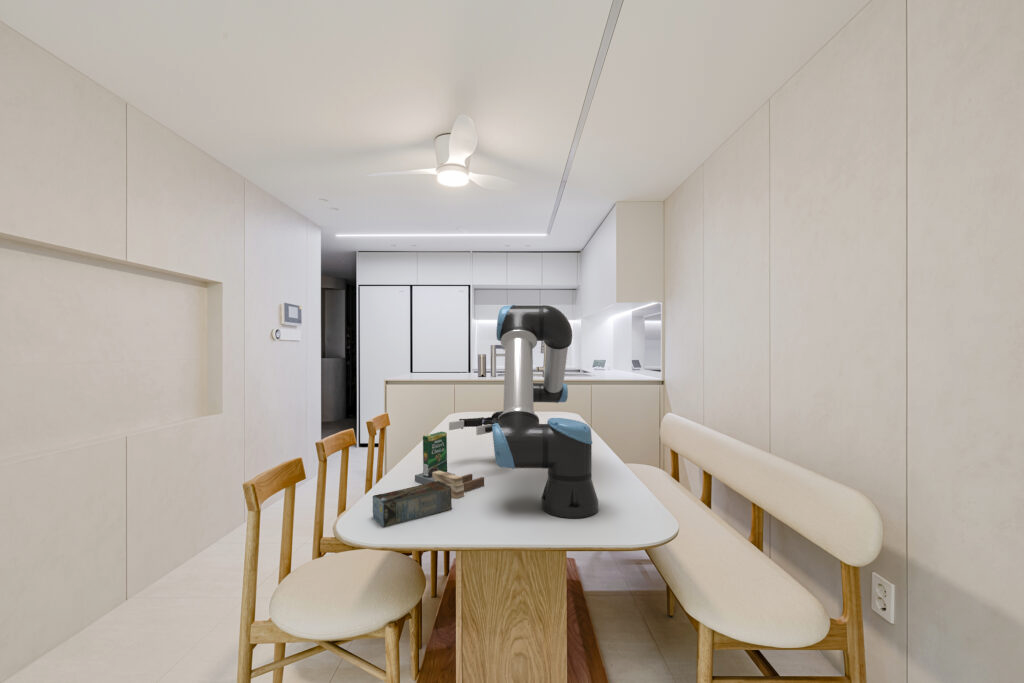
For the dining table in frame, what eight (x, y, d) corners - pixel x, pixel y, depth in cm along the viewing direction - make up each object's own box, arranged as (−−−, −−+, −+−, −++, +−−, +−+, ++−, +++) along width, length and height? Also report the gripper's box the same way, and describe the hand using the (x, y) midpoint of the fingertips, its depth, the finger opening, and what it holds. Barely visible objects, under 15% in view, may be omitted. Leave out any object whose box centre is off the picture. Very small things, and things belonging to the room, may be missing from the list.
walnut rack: (484, 485, 134) (484, 477, 134) (465, 492, 128) (465, 483, 128) (470, 481, 138) (470, 473, 138) (451, 487, 132) (451, 479, 132)
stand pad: (455, 480, 139) (455, 474, 139) (432, 487, 132) (432, 480, 132) (436, 475, 145) (436, 469, 145) (414, 481, 138) (414, 475, 138)
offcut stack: (464, 496, 124) (464, 477, 124) (456, 498, 122) (456, 479, 122) (439, 487, 132) (439, 470, 132) (431, 490, 129) (431, 472, 129)
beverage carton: (370, 518, 109) (371, 492, 109) (439, 501, 121) (439, 478, 121) (382, 529, 103) (382, 501, 103) (453, 510, 114) (453, 485, 114)
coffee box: (427, 478, 134) (428, 436, 134) (422, 476, 136) (422, 434, 136) (447, 472, 140) (447, 432, 141) (441, 471, 142) (442, 431, 142)
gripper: (530, 435, 155) (489, 444, 139) (480, 427, 171) (439, 434, 155) (530, 414, 155) (489, 421, 139) (480, 408, 171) (439, 413, 155)
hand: (462, 428), depth 147 cm, fingers open, 13 cm apart
